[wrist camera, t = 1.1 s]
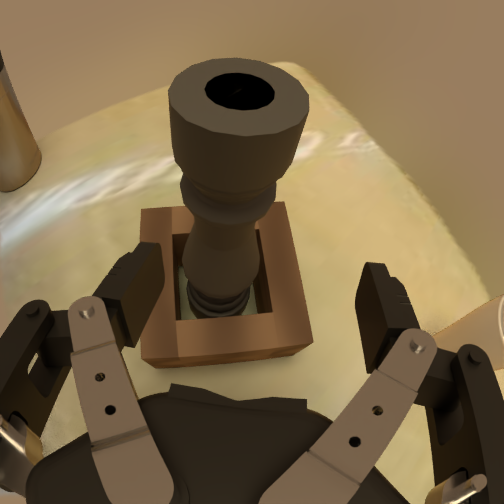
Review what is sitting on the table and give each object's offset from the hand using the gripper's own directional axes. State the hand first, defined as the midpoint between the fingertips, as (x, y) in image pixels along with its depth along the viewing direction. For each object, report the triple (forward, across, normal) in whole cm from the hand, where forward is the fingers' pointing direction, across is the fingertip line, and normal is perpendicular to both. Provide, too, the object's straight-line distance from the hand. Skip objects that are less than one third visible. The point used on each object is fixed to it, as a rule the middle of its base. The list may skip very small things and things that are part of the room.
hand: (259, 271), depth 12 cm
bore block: (+15, +5, +15) cm, 22 cm away
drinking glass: (+13, -21, +21) cm, 32 cm away
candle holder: (+15, +5, +15) cm, 22 cm away
